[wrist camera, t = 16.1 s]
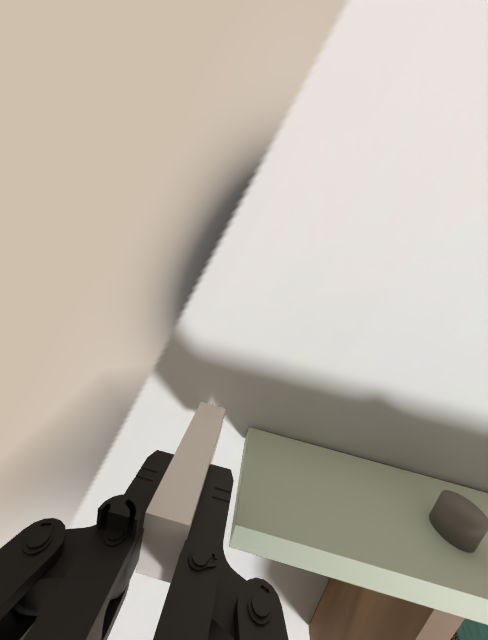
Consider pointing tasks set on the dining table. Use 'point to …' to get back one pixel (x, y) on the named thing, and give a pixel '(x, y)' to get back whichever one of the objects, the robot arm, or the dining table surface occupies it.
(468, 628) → the cupcake
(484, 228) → the dining table surface
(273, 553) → the grey flat panel
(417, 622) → the holder
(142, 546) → the robot arm
